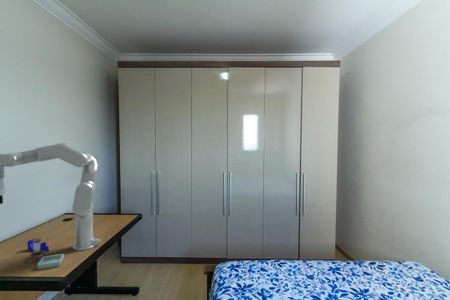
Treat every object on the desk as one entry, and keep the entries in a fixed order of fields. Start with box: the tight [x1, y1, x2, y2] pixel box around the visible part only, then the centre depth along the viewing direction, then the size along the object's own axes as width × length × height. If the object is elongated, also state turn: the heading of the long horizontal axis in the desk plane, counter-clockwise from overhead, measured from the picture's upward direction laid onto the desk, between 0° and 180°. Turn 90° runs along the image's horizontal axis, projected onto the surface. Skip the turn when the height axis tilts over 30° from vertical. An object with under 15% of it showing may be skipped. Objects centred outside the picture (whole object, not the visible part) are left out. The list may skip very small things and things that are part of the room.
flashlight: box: [33, 237, 42, 255], centre depth 134 cm, size 4×4×11 cm
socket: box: [27, 251, 46, 263], centre depth 135 cm, size 6×6×3 cm
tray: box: [35, 253, 65, 271], centre depth 129 cm, size 10×10×2 cm
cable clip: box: [27, 238, 50, 253], centre depth 144 cm, size 12×4×6 cm, turn 69°
